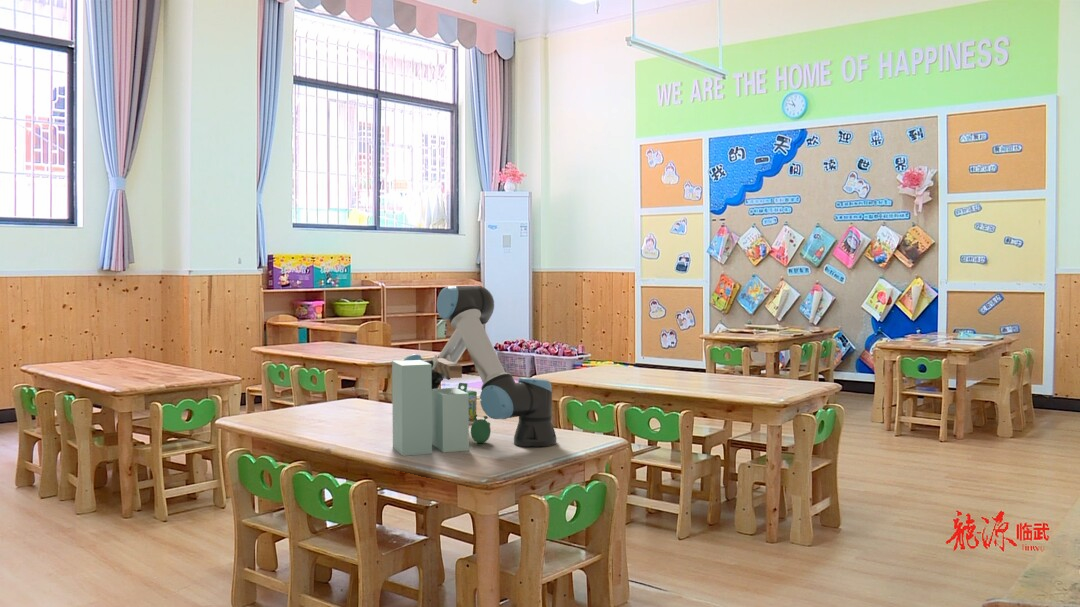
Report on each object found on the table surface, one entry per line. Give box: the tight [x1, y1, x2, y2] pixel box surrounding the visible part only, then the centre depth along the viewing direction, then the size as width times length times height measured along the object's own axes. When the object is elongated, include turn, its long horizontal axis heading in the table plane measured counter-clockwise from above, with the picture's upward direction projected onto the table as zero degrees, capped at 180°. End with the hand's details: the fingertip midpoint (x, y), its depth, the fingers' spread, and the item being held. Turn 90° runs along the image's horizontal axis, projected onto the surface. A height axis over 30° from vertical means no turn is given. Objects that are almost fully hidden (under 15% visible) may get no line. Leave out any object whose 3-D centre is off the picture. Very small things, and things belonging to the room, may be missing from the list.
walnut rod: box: [431, 358, 463, 379], centre depth 309 cm, size 24×4×4 cm, turn 21°
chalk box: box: [457, 382, 478, 421], centre depth 364 cm, size 9×9×15 cm
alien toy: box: [470, 414, 491, 444], centre depth 315 cm, size 7×8×10 cm
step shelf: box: [391, 359, 470, 457], centre depth 304 cm, size 16×23×30 cm
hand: (442, 358), depth 314 cm, fingers closed on walnut rod, 4 cm apart
